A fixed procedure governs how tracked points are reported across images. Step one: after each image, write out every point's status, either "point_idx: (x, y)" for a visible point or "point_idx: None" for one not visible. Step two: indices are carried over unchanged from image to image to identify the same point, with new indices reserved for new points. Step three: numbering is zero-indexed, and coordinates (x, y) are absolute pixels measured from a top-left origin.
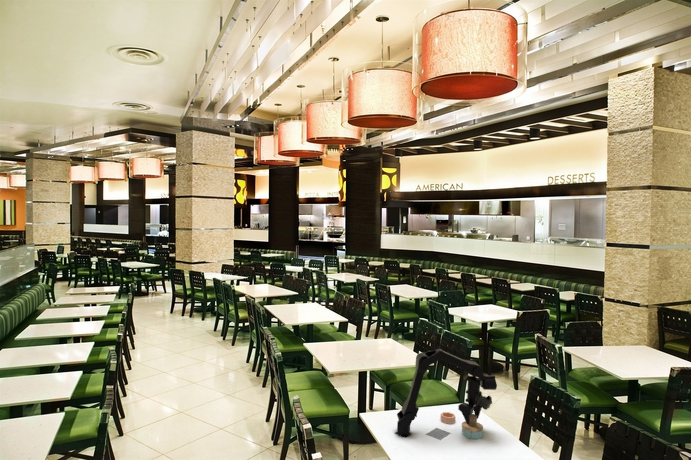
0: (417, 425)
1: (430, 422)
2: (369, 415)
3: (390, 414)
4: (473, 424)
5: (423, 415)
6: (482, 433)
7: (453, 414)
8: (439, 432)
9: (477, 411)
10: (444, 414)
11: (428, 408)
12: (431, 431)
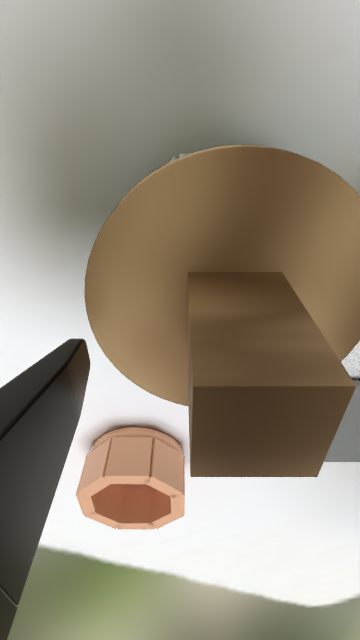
0: (302, 510)
1: (220, 495)
2: (325, 599)
3: (266, 580)
4: (293, 298)
5: (168, 532)
6: (181, 156)
7: (87, 491)
8: (346, 429)
9: (27, 455)
10: (123, 511)
11: (76, 545)
12: (357, 458)
